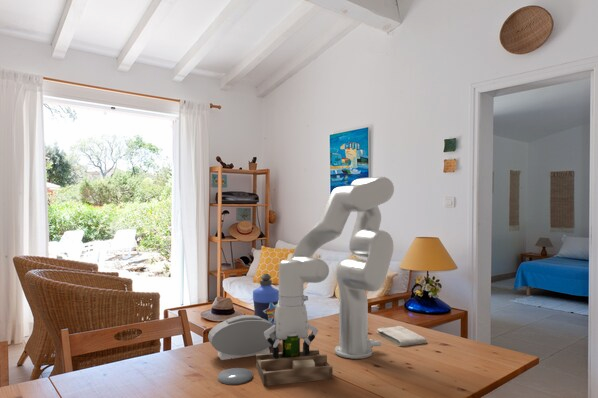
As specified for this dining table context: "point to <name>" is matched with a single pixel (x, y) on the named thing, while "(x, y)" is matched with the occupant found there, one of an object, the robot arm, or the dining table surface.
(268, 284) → the water bottle
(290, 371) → the rack
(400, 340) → the washcloth
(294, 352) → the beer can
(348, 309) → the robot arm
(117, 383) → the dining table surface
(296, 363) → the top offcut
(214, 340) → the alarm clock
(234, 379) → the grey glossy dome
